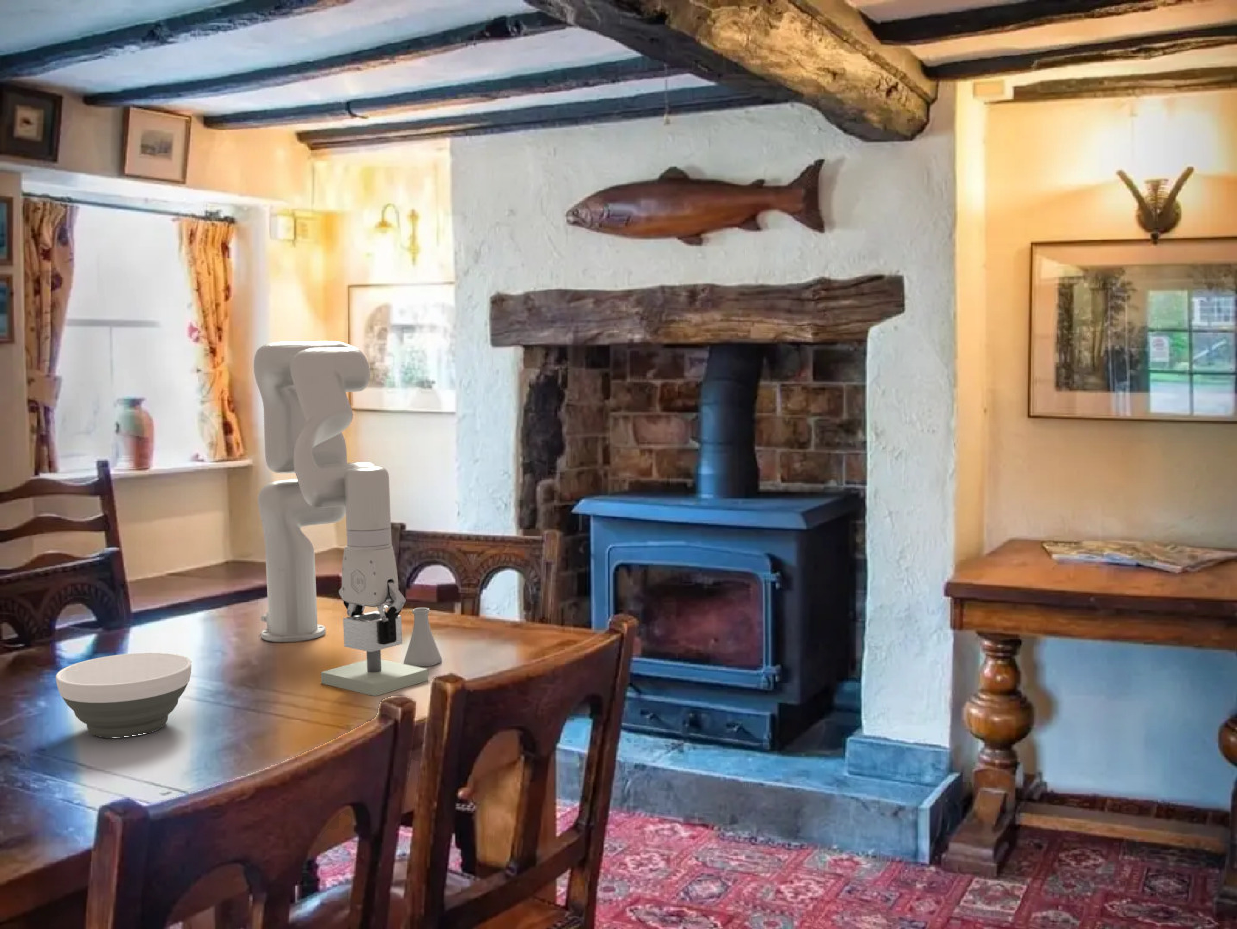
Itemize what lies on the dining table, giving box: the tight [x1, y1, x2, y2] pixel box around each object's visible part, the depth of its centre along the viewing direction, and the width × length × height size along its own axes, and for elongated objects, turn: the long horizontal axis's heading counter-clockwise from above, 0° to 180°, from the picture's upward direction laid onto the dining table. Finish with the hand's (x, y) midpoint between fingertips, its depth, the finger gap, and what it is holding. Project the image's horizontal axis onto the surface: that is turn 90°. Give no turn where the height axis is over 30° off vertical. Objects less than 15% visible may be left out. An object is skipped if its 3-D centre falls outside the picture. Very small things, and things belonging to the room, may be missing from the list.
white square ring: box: [342, 610, 403, 652], centre depth 221 cm, size 7×7×5 cm
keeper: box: [320, 649, 429, 697], centre depth 222 cm, size 14×12×8 cm
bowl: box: [55, 652, 192, 738], centre depth 198 cm, size 20×20×10 cm
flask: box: [403, 607, 443, 667], centre depth 234 cm, size 7×7×10 cm
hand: (373, 639), depth 221 cm, fingers closed on white square ring, 7 cm apart
